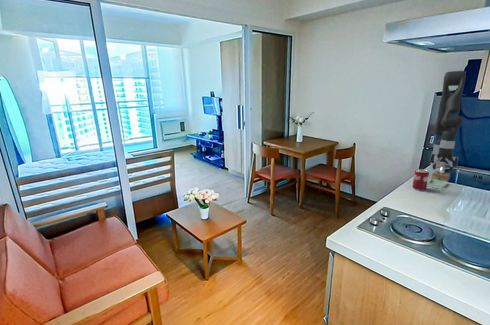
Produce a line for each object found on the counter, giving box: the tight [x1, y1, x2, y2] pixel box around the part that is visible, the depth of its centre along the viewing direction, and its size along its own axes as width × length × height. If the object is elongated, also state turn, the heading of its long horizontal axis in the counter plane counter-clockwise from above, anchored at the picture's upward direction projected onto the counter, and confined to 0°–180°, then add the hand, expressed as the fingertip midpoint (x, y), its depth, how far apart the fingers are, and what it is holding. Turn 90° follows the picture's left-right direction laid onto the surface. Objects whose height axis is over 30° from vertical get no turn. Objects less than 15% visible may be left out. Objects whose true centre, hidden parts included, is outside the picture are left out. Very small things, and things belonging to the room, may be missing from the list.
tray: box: [427, 178, 449, 191], centre depth 164 cm, size 10×9×2 cm
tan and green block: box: [430, 170, 451, 183], centre depth 171 cm, size 13×9×5 cm
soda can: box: [411, 168, 430, 192], centre depth 159 cm, size 7×7×12 cm
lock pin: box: [438, 165, 446, 174], centre depth 171 cm, size 3×3×9 cm
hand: (442, 170), depth 171 cm, fingers open, 8 cm apart
